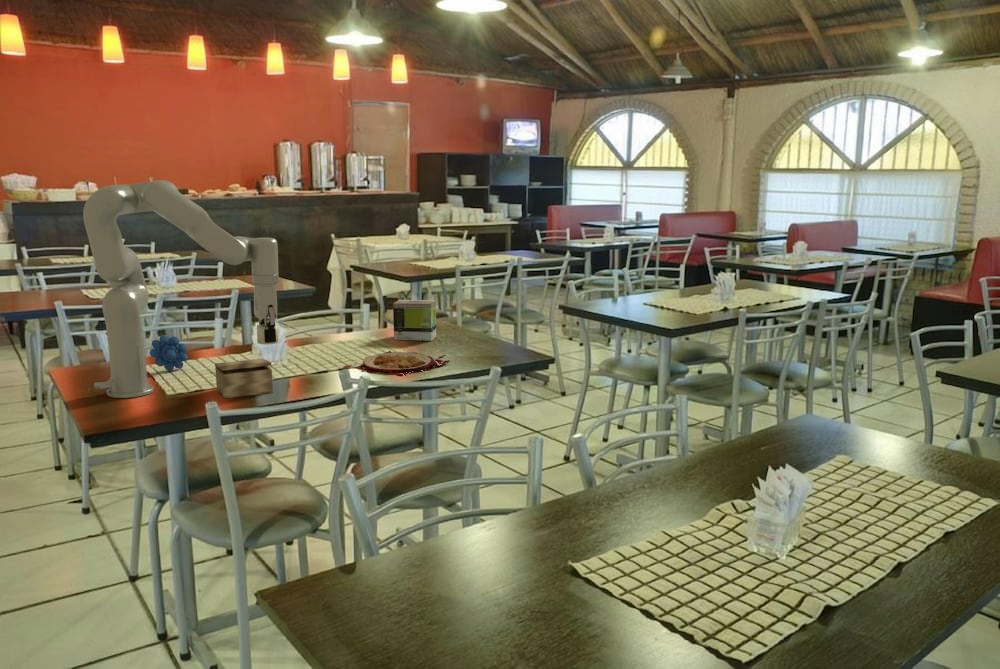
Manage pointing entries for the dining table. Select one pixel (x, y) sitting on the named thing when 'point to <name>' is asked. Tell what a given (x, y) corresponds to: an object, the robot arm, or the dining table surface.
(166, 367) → the blue flower
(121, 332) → the robot arm
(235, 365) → the lid
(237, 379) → the carton
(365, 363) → the plate with food
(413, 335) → the tea box
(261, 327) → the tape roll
